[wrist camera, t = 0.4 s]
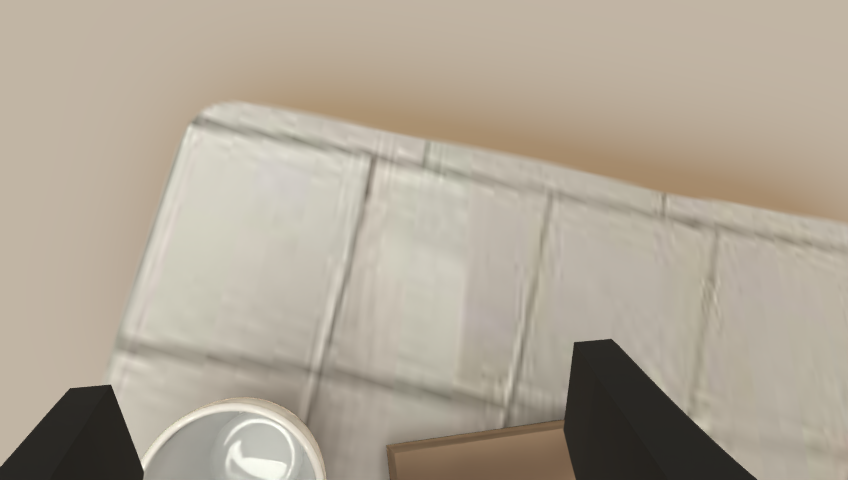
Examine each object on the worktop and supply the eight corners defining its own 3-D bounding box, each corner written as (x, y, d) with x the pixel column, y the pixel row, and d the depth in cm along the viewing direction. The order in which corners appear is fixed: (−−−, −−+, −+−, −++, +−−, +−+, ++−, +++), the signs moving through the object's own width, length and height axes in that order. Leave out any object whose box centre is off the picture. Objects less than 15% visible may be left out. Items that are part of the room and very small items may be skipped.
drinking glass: (331, 399, 40) (343, 416, 25) (309, 525, 38) (308, 619, 24) (210, 380, 39) (150, 386, 24) (183, 508, 38) (101, 595, 23)
